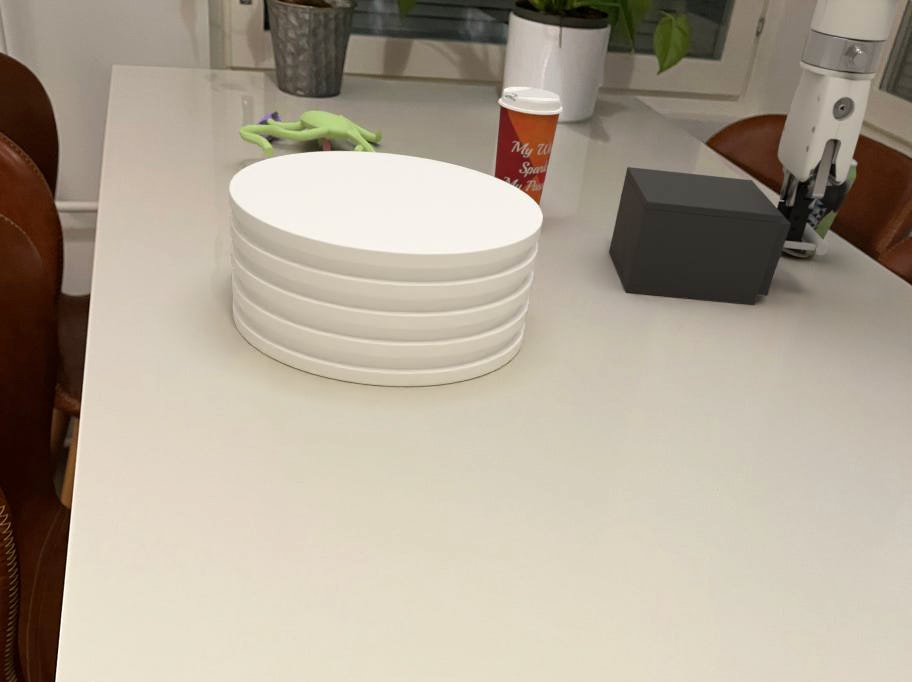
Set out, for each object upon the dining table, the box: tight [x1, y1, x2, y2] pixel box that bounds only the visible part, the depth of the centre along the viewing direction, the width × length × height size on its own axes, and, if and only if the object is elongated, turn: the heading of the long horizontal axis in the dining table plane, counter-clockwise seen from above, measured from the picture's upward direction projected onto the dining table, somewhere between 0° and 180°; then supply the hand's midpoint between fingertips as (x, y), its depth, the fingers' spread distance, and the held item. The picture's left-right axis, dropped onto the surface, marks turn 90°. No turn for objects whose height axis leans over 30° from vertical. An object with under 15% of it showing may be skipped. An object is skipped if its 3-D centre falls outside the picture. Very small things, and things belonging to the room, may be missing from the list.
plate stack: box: [228, 150, 544, 387], centre depth 92 cm, size 28×28×12 cm
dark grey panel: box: [758, 194, 829, 297], centre depth 111 cm, size 19×11×8 cm, turn 91°
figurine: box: [238, 110, 383, 158], centre depth 133 cm, size 18×27×6 cm
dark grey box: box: [608, 166, 783, 306], centre depth 110 cm, size 15×13×10 cm
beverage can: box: [782, 158, 858, 258], centre depth 121 cm, size 6×7×12 cm
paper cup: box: [494, 86, 564, 207], centre depth 120 cm, size 8×8×14 cm
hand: (783, 241), depth 111 cm, fingers closed
